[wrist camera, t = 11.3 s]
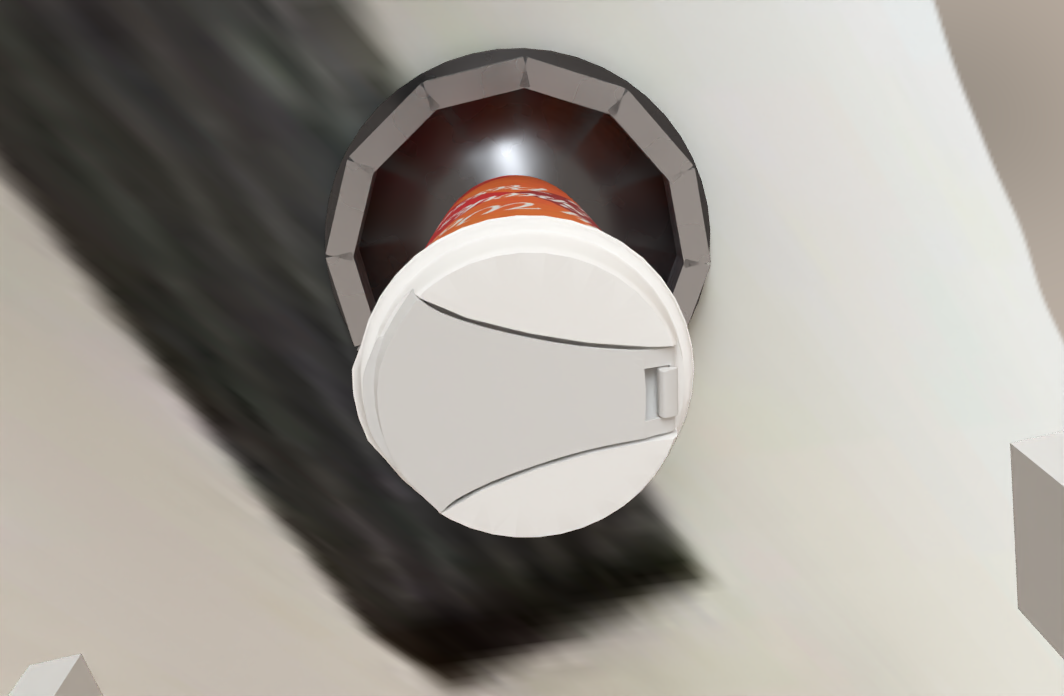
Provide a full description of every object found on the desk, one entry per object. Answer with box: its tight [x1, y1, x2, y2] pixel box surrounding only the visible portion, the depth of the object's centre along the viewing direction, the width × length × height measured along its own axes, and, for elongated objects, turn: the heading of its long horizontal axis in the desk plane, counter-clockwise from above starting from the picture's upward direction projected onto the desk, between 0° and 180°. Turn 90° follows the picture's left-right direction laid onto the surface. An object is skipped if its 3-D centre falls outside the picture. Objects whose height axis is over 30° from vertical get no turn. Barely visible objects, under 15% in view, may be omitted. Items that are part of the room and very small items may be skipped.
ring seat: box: [325, 48, 711, 351], centre depth 34 cm, size 15×15×2 cm
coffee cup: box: [352, 175, 694, 537], centre depth 27 cm, size 8×8×15 cm
